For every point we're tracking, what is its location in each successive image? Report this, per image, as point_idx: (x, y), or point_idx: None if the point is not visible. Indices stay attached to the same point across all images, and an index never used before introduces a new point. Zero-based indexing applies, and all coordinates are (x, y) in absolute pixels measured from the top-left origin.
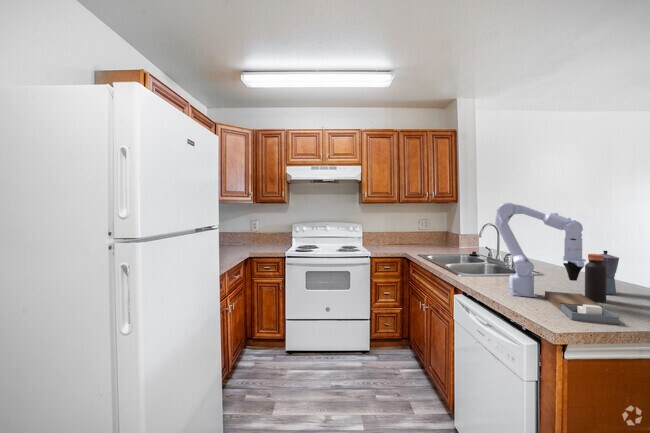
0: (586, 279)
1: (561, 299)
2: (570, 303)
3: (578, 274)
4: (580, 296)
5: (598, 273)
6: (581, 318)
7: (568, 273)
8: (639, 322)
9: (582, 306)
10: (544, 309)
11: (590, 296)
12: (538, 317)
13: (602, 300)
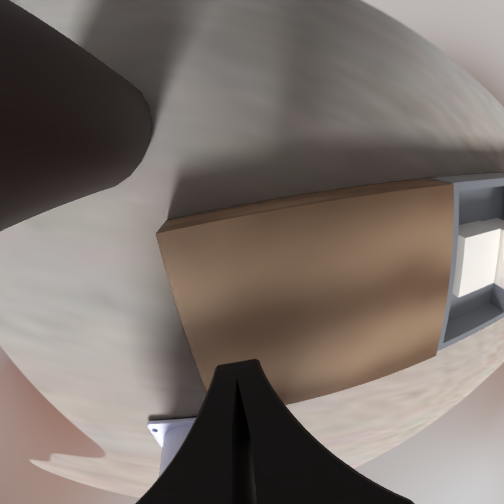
0: (29, 217)
1: (381, 356)
2: (438, 322)
3: (289, 414)
4: (254, 254)
5: (10, 67)
6: None
7: (253, 475)
8: (457, 75)
9: (465, 278)
10: (413, 377)
11: (130, 166)
12: (474, 373)
13: (141, 97)
